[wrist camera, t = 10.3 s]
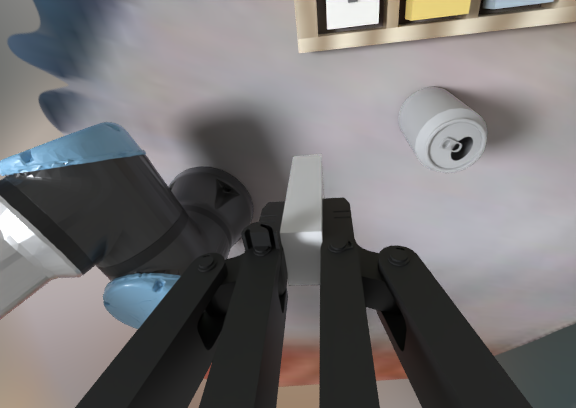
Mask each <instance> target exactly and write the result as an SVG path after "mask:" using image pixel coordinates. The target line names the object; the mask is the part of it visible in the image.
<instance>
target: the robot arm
mask: <svg viewBox="0 0 576 408" xmlns="http://www.w3.org/2000/svg"><path fill="white" fill-rule="evenodd" d="M145 154H146V152H145V151H144V150H142V149H141V148H140V147H139V146H138V145H137V143H136V142H135V141H134V140H133V139H132V137H131V136H130V135H129V133H128V132H127V131H126V130H125V129H124V128H123V127H122V126H120V125H118V124H116V123H112V122H104V123H100V124H97V125H94V126H91V127H88V128H85V129H83V130H80V131H77V132H74V133H71V134H69V135H66V136H63V137H61V138H58V139H55V140H53V141H50V142H47V143H45V144H42V145H39V146H37V147H34V148H32V149H29V150H26V151H24V152H21V153H19V154H16V155H13V156H10V157H8V158H5V159H3V160H1V161H0V175H2V176H4V175H5V176H6V177H5V178H4V179H2V180H0V320H1V319H2V318H3V317H4V316H6V315H7V314H8V313H10V312H11V311H12V310H13V309H15V308H16V307H17V306H19V305H20V304H21V303H23V302H24V301H25V300H26V299H28V298H29V297H30V296H32V295H33V294H34V293H36V292H37V291H38V290H39V289H41V288H42V287H43V286H45V285H46V284H47V283H48V282H50V281H51V280H53V279H57V278H75V277H81V276H82V275H84V274H85V273H86V272H87V271H89V270H90V269H91V268H92V267H94V266H95V265H96V266H97V267H98V268H99V269H100V270H101V271H102V272H103V273H104V274H105V275H106V276H107V277H108V278H109V279H110V281H111V282H109V283H108V284H107V286H106V287H105V292H104V294H103V300H104V306H105V308H106V309H107V311H108V312H109V313H110V314H111V315H112V316H113V317H115V318H116V319H117V320H119V321H121V322H122V323H124V324H126V325H129V326H131V327H133V328H136V329H138V330H137V331H136V333H135V334H134V335H133V337H132V338H131V339H130V340H129V341H128V343H127V344H126V345H125V346H124V348H123V349H122V350H121V351H120V353H119V354H118V355H117V356H116V357H115V359H114V360H113V361H112V362H111V364H110V365H109V366H108V367H107V369H106V370H105V371H104V372H103V374H102V375H101V376H100V377H99V379H98V380H97V381H96V382H95V384H94V385H93V386H92V387H91V389H90V390H89V391H88V392H87V393H86V395H85V396H84V397H83V398H82V400H81V401H80V402H79V403H78V405H77V406H76V407H75V408H188V406H189V404H190V402H191V400H192V398H193V397H194V395H195V393H196V391H197V389H198V387H199V385H200V383H201V382H202V380H203V378H204V376H205V374H206V372H207V371H208V369H209V367H210V365H211V363H212V365H211V368H210V372H209V375H208V378H207V382H206V385H205V389H204V392H203V396H202V399H201V402H200V405H199V408H276V404H277V394H278V385H279V376H280V366H281V357H282V347H283V338H284V329H285V319H286V310H287V301H288V293H287V278H288V284H289V286H292V285H320V406H319V407H320V408H380V406H379V399H378V392H377V385H376V378H375V371H374V363H373V356H372V349H371V342H370V335H369V328H368V321H367V314H366V307H368V308H372V309H376V310H377V314H378V316H379V318H380V320H381V322H382V324H383V326H384V328H385V330H386V333H387V335H388V337H389V339H390V341H391V343H392V345H393V347H394V349H395V352H396V354H397V356H398V358H399V360H400V362H401V364H402V366H403V368H404V370H405V373H406V375H407V377H408V379H409V381H410V383H411V385H412V387H413V389H414V391H415V393H416V396H417V398H418V400H419V402H420V404H421V406H422V408H532V407H531V405H530V404H529V402H528V401H527V400H526V398H525V397H524V396H523V394H522V393H521V392H520V390H519V389H518V388H517V387H516V385H515V384H514V382H513V381H512V380H511V379H510V377H509V376H508V374H507V373H506V372H505V370H504V369H503V368H502V366H501V365H500V364H499V363H498V361H497V360H496V359H495V357H494V356H493V355H492V353H491V352H490V351H489V349H488V348H487V347H486V345H485V344H484V343H483V341H482V340H481V339H480V337H479V336H478V335H477V333H476V332H475V331H474V329H473V328H472V327H471V325H470V324H469V323H468V321H467V320H466V319H465V317H464V316H463V315H462V313H461V312H460V311H459V309H458V308H457V307H456V305H455V304H454V303H453V301H452V300H451V299H450V297H449V296H448V295H447V293H446V292H445V291H444V289H443V288H442V287H441V286H440V284H439V283H438V282H437V280H436V279H435V278H434V276H433V275H432V274H431V272H430V271H429V270H428V268H427V267H426V266H425V264H424V263H423V262H422V260H421V259H420V258H419V256H418V255H417V254H416V253H415V252H414V251H413V250H411V249H409V248H407V247H403V246H389V247H386V248H384V249H383V250H381V251H380V253H375V252H371V251H367V250H365V249H363V248H361V247H360V246H359V245H358V244H357V243H356V242H355V239H354V232H353V225H352V218H351V210H350V203H349V202H348V201H347V200H346V199H345V198H327V199H324V186H323V172H322V157H321V154H317V155H303V156H293V160H292V166H291V172H290V177H289V183H288V189H287V195H286V200H285V202H269V203H268V204H267V205H266V206H265V207H264V208H263V209H262V213H261V217H260V220H259V222H256V223H253V224H250V223H251V220H252V216H253V203H252V200H251V197H250V195H249V193H248V191H247V190H246V188H245V187H244V186H243V185H242V184H241V183H240V182H239V181H238V180H237V179H236V178H234V177H233V176H231V175H230V174H228V173H226V172H224V171H221V170H218V169H215V168H210V167H196V168H191V169H188V170H185V171H183V172H182V173H180V174H179V175H177V176H176V177H175V179H174V180H173V181H172V182H171V184H170V185H169V186H167V184H166V183H165V182H164V180H163V179H162V177H161V176H160V175H159V173H158V172H157V170H156V169H155V167H154V166H153V165H152V163H151V162H150V160H149V159H148V157H147V156H146V155H145ZM241 237H242V239H243V243H244V247H245V253H244V254H242V255H240V256H237V257H234V258H230V259H227V257H228V254H229V251H230V248H231V247H232V246H233V245H234V244H235V243H236V242H237V241H238V240H239V239H240V238H241Z"/></svg>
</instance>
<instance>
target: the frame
mask: <svg viewBox="0 0 576 408" xmlns="http://www.w3.org/2000/svg"><path fill="white" fill-rule="evenodd" d="M480 2H481V0H471V2H470V8H469V14H462V15H457V16H456V18H448V19H440V20H432V21H424V22H416V23H407V24H399V25H398V18H399V3H400V0H384V7H383V27H375V28H366V29H358V30H350V31H342V32H334V33H325V34H318V20H317V2H316V0H294V3H295V14H296V26H297V37H298V48H299V53H306V52H314V51H323V50H332V49H341V48H349V47H358V46H367V45H375V44H384V43H393V42H402V41H410V40H419V39H428V38H437V37H445V36H454V35H463V34H471V33H480V32H489V31H498V30H506V29H515V28H524V27H533V26H541V25H550V24H559V23H568V22H576V0H554V2H548V3H541V7H539V8H530V9H522V10H514V11H506V12H498V13H489V14H481V15H478V13H479V8H480Z"/></svg>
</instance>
